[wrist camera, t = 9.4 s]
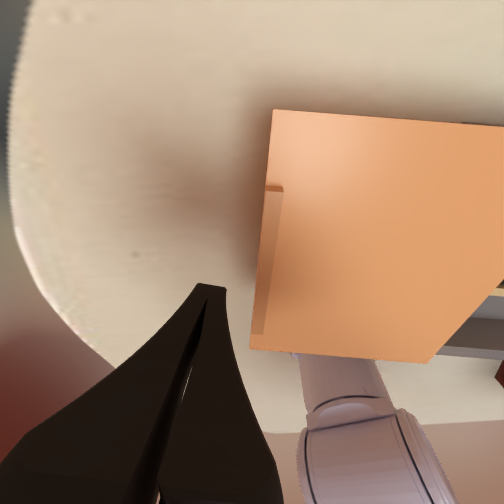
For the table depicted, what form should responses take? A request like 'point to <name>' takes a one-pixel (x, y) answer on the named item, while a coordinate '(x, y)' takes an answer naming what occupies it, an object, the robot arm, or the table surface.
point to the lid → (376, 234)
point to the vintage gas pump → (500, 375)
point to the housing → (481, 325)
